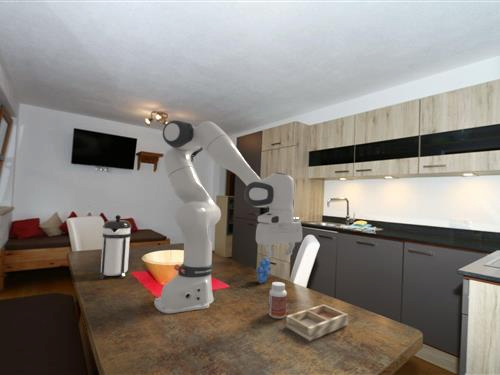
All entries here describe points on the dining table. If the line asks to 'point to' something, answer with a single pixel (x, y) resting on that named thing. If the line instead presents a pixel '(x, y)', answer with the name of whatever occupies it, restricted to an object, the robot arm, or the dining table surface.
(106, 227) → the coffee press
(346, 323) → the tray
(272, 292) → the pill bottle
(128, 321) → the dining table surface
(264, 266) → the grapes
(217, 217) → the robot arm
